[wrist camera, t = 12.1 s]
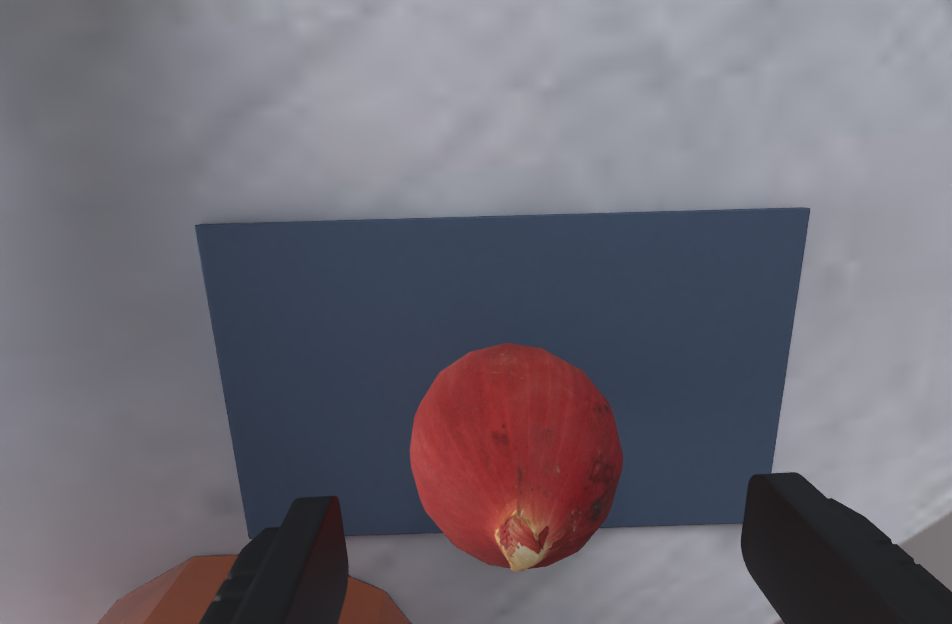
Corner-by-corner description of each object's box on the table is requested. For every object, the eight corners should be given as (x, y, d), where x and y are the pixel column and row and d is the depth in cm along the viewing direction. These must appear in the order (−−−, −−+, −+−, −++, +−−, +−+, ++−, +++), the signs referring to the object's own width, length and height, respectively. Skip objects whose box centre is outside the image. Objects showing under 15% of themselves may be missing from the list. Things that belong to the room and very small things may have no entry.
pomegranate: (602, 328, 17) (716, 454, 9) (568, 473, 18) (640, 688, 11) (435, 303, 16) (404, 410, 9) (413, 453, 18) (371, 658, 10)
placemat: (200, 224, 16) (193, 225, 16) (803, 207, 16) (810, 208, 16) (253, 532, 19) (248, 539, 19) (758, 516, 19) (764, 523, 19)
